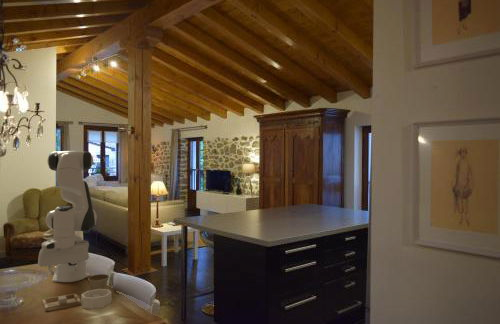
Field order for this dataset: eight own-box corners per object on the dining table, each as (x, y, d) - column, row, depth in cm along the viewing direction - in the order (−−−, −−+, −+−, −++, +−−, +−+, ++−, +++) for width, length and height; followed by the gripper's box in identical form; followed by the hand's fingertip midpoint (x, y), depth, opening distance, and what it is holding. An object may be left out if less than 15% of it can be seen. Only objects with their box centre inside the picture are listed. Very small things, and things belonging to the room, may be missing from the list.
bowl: (79, 303, 169) (79, 292, 169) (106, 298, 176) (106, 287, 176) (85, 312, 159) (85, 300, 159) (113, 306, 166) (113, 294, 166)
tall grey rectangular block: (91, 302, 168) (91, 295, 168) (98, 301, 170) (98, 293, 170) (94, 305, 165) (94, 297, 165) (101, 304, 166) (101, 296, 166)
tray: (42, 304, 168) (42, 299, 168) (75, 297, 176) (75, 293, 176) (45, 312, 158) (45, 307, 158) (80, 305, 166) (80, 300, 166)
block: (57, 304, 166) (57, 296, 166) (65, 303, 168) (65, 295, 168) (59, 307, 163) (59, 299, 163) (66, 306, 164) (66, 298, 164)
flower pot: (101, 299, 175) (101, 280, 175) (83, 297, 177) (83, 279, 177) (112, 292, 184) (112, 274, 184) (95, 290, 186) (95, 273, 186)
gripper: (87, 238, 174) (87, 267, 174) (37, 243, 162) (37, 275, 162) (90, 240, 169) (90, 270, 169) (39, 246, 157) (39, 279, 157)
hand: (64, 273), depth 166 cm, fingers open, 8 cm apart
